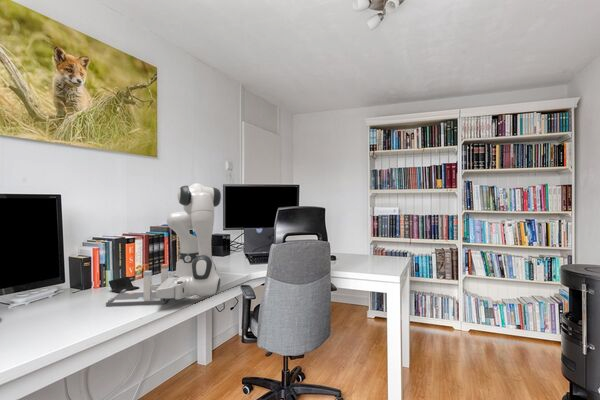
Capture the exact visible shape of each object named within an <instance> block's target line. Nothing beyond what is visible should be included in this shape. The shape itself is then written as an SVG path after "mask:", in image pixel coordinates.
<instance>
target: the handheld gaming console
mask: <svg viewBox="0 0 600 400" xmlns="http://www.w3.org/2000/svg"><path fill="white" fill-rule="evenodd" d="M108 285H109V287H110V289H111V291H112V292H111V293H114V294H117V295H118V294H119V293H121V291H122V290H123V289H126V291H137V290H139V289H140V286H134V285H133V283H132V280H131V278H130V276H124V277H121V278H116V279H112V280H108Z"/></svg>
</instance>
